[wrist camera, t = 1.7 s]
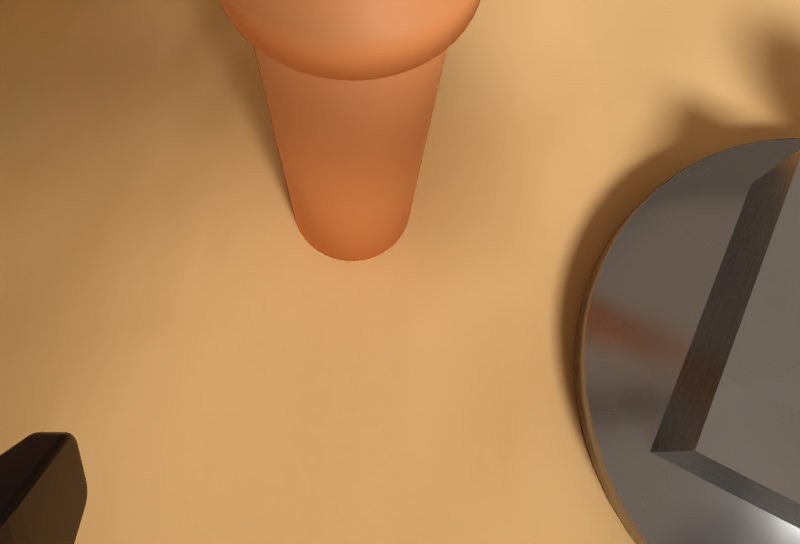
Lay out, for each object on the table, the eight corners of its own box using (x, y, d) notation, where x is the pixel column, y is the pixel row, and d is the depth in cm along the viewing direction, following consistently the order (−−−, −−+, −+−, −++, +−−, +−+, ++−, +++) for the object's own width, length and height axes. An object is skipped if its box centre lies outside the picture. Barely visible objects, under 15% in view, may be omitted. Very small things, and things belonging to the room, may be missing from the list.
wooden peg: (342, 300, 22) (329, 95, 10) (253, 196, 23) (134, -118, 11) (449, 214, 23) (560, -72, 11) (360, 117, 24) (367, -253, 12)
